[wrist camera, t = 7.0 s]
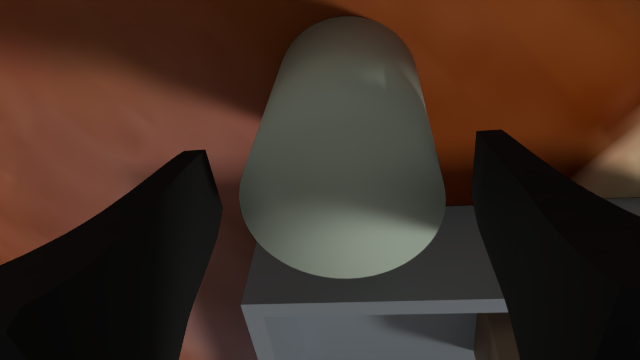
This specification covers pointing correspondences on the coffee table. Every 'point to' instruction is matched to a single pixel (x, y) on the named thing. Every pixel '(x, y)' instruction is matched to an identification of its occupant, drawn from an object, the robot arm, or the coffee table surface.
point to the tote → (381, 302)
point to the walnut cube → (494, 337)
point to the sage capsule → (344, 155)
